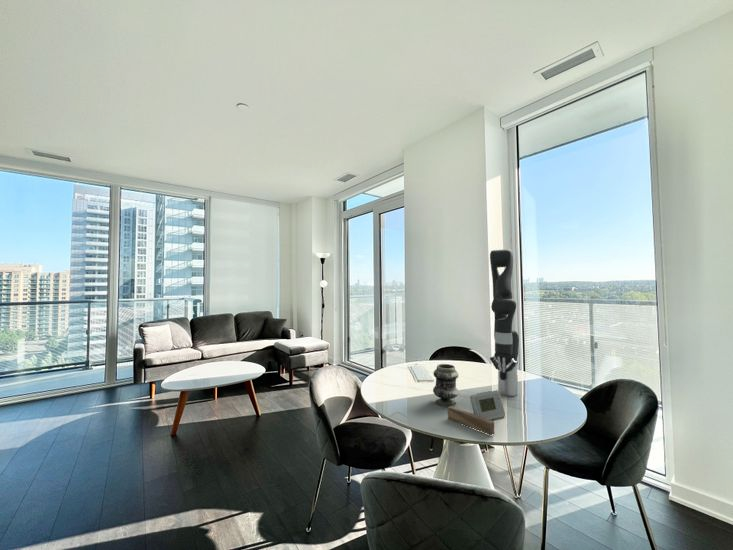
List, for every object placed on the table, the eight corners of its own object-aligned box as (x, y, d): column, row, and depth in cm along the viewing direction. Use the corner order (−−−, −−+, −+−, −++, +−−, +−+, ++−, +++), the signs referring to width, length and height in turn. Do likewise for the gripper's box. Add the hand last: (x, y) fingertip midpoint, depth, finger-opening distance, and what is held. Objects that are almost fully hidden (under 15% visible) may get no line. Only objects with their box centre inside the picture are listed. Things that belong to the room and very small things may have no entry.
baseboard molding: (413, 382, 191) (433, 382, 191) (413, 377, 191) (433, 377, 191) (406, 368, 222) (424, 368, 222) (406, 363, 222) (424, 363, 222)
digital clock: (476, 424, 136) (475, 398, 136) (465, 415, 145) (464, 391, 145) (510, 420, 139) (510, 395, 139) (497, 412, 148) (497, 388, 148)
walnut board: (451, 417, 142) (451, 406, 142) (494, 434, 126) (494, 421, 126) (448, 419, 141) (448, 407, 141) (490, 436, 125) (490, 423, 125)
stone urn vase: (455, 409, 150) (454, 370, 151) (429, 405, 156) (429, 367, 156) (461, 401, 161) (461, 364, 161) (437, 396, 167) (437, 361, 167)
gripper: (521, 343, 148) (521, 381, 148) (494, 339, 158) (494, 375, 158) (513, 345, 143) (513, 385, 143) (486, 340, 154) (485, 377, 154)
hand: (503, 379), depth 151 cm, fingers closed
